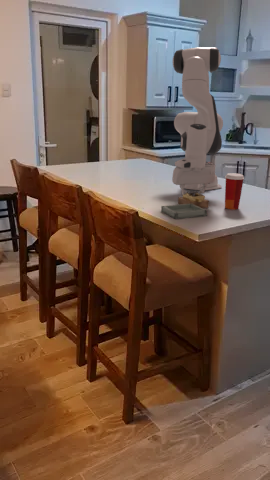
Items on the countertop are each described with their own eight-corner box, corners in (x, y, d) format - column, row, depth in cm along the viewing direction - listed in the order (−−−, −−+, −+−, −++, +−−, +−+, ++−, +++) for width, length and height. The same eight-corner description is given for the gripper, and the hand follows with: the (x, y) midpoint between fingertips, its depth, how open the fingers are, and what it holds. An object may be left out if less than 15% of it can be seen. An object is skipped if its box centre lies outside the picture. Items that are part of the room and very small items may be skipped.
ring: (182, 197, 197) (182, 192, 196) (194, 196, 199) (195, 191, 199) (193, 202, 188) (194, 197, 188) (206, 201, 191) (206, 196, 190)
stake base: (196, 202, 202) (197, 196, 201) (208, 207, 193) (209, 200, 192) (177, 203, 198) (178, 197, 197) (189, 209, 189) (189, 202, 188)
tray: (191, 208, 190) (191, 203, 189) (206, 215, 179) (207, 210, 178) (161, 211, 184) (161, 205, 183) (175, 219, 173) (175, 213, 173)
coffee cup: (238, 205, 197) (241, 173, 193) (243, 210, 190) (246, 176, 185) (220, 205, 197) (223, 172, 192) (224, 210, 189) (227, 176, 184)
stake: (196, 198, 196) (196, 190, 195) (197, 199, 195) (198, 191, 193) (187, 199, 194) (188, 191, 193) (189, 199, 193) (189, 192, 192)
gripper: (211, 161, 196) (208, 191, 200) (171, 162, 188) (169, 193, 192) (219, 163, 190) (216, 194, 195) (178, 164, 182) (176, 196, 187)
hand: (192, 193), depth 193 cm, fingers open, 8 cm apart
